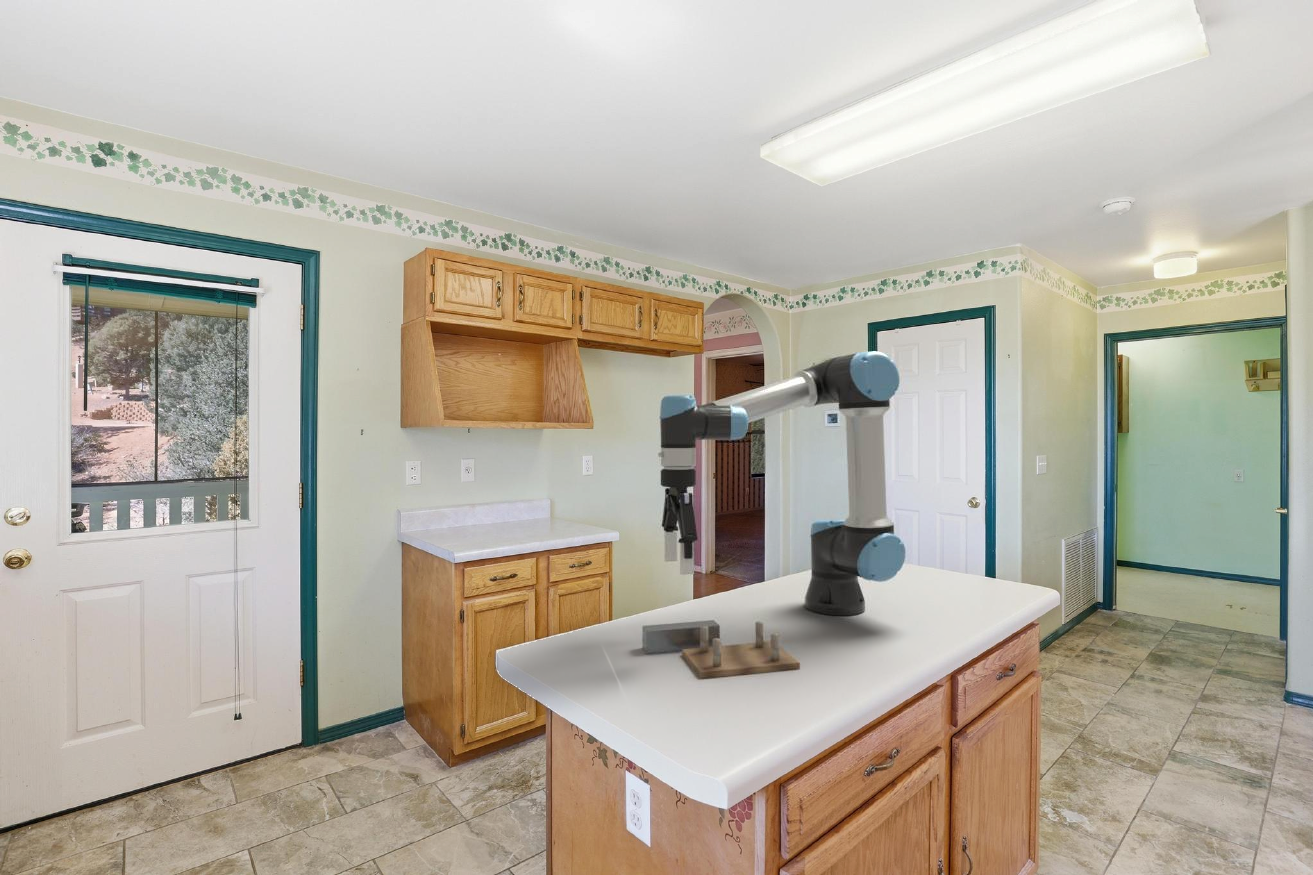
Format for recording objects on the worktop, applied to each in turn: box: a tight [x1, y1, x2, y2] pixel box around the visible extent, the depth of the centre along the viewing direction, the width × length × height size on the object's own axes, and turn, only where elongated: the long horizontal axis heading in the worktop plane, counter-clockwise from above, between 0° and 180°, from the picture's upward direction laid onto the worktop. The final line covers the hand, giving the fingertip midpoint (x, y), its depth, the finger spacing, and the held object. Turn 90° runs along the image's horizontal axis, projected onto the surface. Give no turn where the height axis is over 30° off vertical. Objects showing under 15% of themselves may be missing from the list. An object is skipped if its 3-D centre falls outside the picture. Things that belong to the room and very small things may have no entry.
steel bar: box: [641, 619, 721, 655], centre depth 137 cm, size 16×4×5 cm, turn 103°
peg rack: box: [681, 621, 801, 680], centre depth 128 cm, size 20×13×6 cm, turn 103°
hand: (678, 567), depth 137 cm, fingers open, 13 cm apart
